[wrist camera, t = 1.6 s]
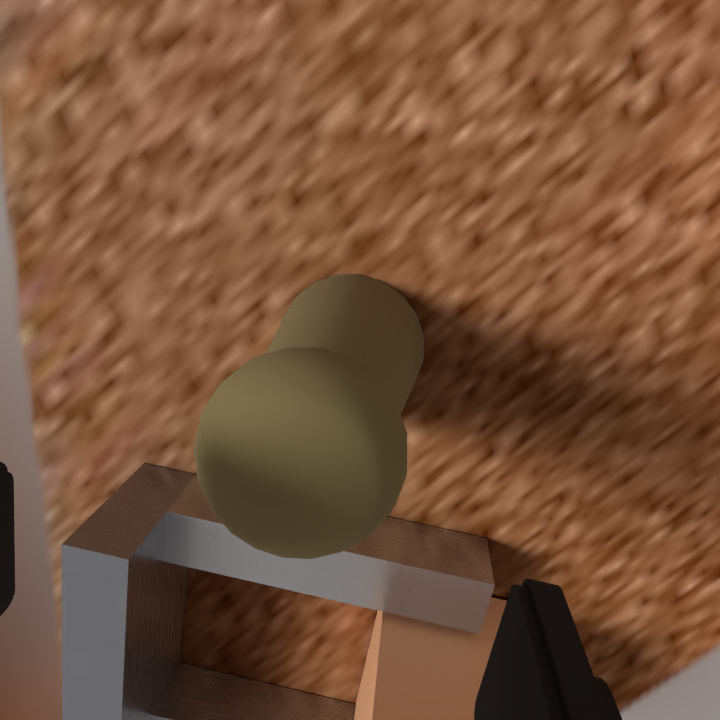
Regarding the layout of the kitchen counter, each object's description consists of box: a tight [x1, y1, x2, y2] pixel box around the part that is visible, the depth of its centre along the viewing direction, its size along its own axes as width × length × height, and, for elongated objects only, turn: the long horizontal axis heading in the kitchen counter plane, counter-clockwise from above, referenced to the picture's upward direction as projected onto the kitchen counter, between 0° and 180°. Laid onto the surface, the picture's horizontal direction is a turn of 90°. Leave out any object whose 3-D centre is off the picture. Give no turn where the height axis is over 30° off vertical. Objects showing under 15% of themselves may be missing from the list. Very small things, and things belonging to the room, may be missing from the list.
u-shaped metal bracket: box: [62, 463, 495, 720], centre depth 24 cm, size 14×16×6 cm
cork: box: [194, 274, 424, 559], centre depth 17 cm, size 6×6×11 cm
